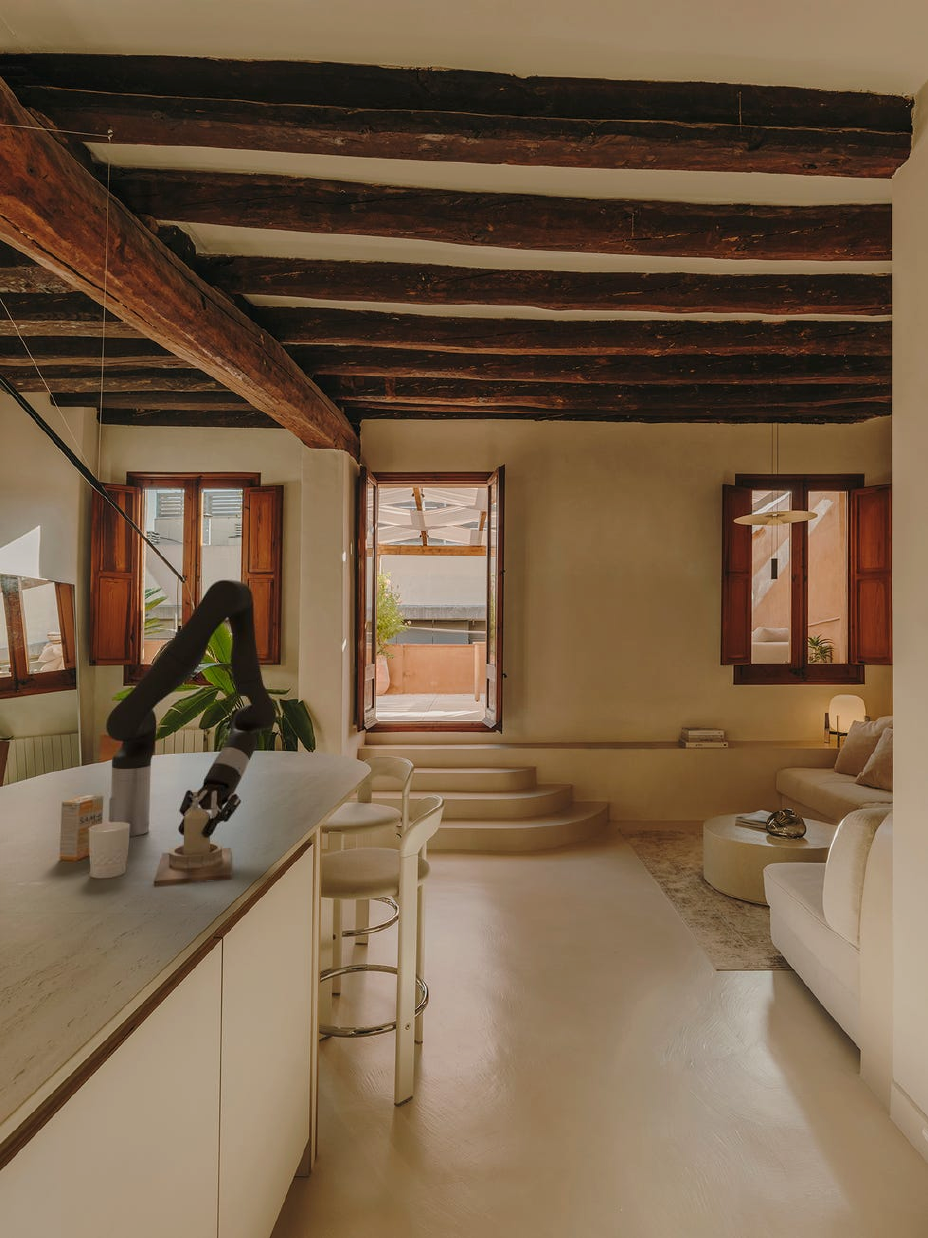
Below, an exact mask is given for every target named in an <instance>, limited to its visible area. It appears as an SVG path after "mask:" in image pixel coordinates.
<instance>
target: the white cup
mask: <svg viewBox="0 0 928 1238" xmlns="http://www.w3.org/2000/svg"><path fill="white" fill-rule="evenodd" d="M129 832H130V824H129V823H125V822H109V821H108V822H102V824H97V825H94V826H91V827H90V828H89V856H88V857H89V864H90V865H89V866H90V867H89V869H90V871H89V874H90V877H91V878H94V879H110V878H117V877H120V876H121V875H124V874H125V873H126V869H127V860H128V854H129V844H130V843H129V841H130V836H129Z"/></svg>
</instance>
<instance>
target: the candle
mask: <svg viewBox="0 0 928 1238" xmlns="http://www.w3.org/2000/svg"><path fill="white" fill-rule="evenodd" d="M183 818H184V835H183V844H184V855H200V854H205V853H210V842H211V836H210V837H209V838H205V837H204V836H203V834H202V831H203V829H204V827H205V825H206V824H207V822H208V820H209V818H211V814H210V812H209V811H208V810H203V809H202V808H200V807H199V808H196V809H194V810H193V811H190V812H189V813H188V814H186V815H185V817H183Z"/></svg>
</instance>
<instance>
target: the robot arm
mask: <svg viewBox="0 0 928 1238" xmlns="http://www.w3.org/2000/svg"><path fill="white" fill-rule="evenodd" d="M254 610H255V609H254V596H253V592H252V590H251V588H250V587H249V586H248V585H247V584H246V583H245V582H243V581H240V580H234V579H225V578H223V579H219V580H217V581H215V582H214V583H212V585H210V586H209V588H208V589H207V591H206V593H205V594H204V595H203V597H202V599H201V601H199V603H198V605H197V607H196V608H195V610H194V611H193V612H192V614H191V615H190V618H189V619H188V620H187V621H186V622H185V623H184V625H182V627H181V628H180V629H179V630H178V632H177V633H176V634H175V636H174V637H173V639H171V641H170V642H169V643H168V644H167V646H166V647H165V648H164V649H163V650H162V651H161V653H160V654H159V655H158V657H157V658H156V660H155V661H154V662H153V663H152V665H151V666H150V667H149V669H148V670H147V671H146V672H145V673H144V675H143V676H142V677H141V679H140V681H139V682H138V683H137V684H136V685H135V686H134V687H133V689H132V690H131V691H130V692H129V693H128V694H126V696H125V697H124V698H123V699H122V700H121V701H120V702H119V703H118V704H116V706H115V707H114V708H113V710H112V711H110V713H109V715H108V717H107V720H106V724H105V725H106V726H105V727H106V732H107V734H108V737H110V738H111V739H112V740H114V741H117V742H122V744H121V746H120V748H119V750H118V751H117V752H116V753H115V754H114V755H113V756H112V759H111V779H110V781H111V783H110V784H111V785H110V788H111V790H110V798H109V800H108V823H109V822H125V823H129V824H130V832H129V837H136V836H140V835H143V834H146V833H148V832H149V831H150V807H151V805H150V803H151V800H150V799H151V778H152V777H151V774H152V772H151V769H152V758H153V756H154V754H155V749H156V738H157V717H156V713H155V712H154V708H156V706H157V705H158V704H159V703H160V702H162V700H165V698H166V697H168V696H169V695H170V694H172V693H173V692H174V691H177V689H179V687H181V686H182V685H183V684H185V682H186V681H188V679H190V677H191V676H192V674H193V673H194V672H195V671H196V670H197V669H198V667H199V665H201V663H202V661H203V660H204V658H205V656H206V652H207V649H208V646H209V644H210V640H211V639H212V637H213V636H214V635H213V634H214V633H215V632H216V631H217V630H218V628H219V627H220V626H221V625H222V624H223V622H224V621H226V619H228V622H229V625H230V629H231V651H230V669H231V675H232V679H233V684H234V688H235V693H236V694H237V695H238V696H240V697H246V698H247V699H248V701H249V703H250V704H249V705H243V706H241V707H240V708H239V709H238V710H237V711H236V713H235V714H234V716H233V720H232V724H231V725H230V726H231V727H230V731H229V736H228V738H227V740H226V742H225V744H224V745H223V747H222V749H221V750H220V752H219V753H218V754H217V756H216V758H215V760H214V761H213V763H212V764H211V767H210V769H209V770H208V772H207V773H206V776H205V778H204V780H203V785H202V787H200V789H198V790H197V791H192V790H191V789H188V790H187V791H186V792H185V794H184V797H183V800H182V802H181V804H180V807H179V810H178V811H179V813H180V815H182V816H183V818H182V819H181V822H180V824H179V825H178V828H177V829H178V832H179V834H180V835H181V836H184V817H185V815H186V814H188V813H189V812H190V811H193V810H194V809H196V808H202V809H203V810H206V811H211V814H210V815H211V817H210V818H209V820H208V822H207V824H206V825H205V827H204V829H203V831H202V834H203V836H204V837H205V838H209V837H210V838H211V836H212V835H213V834H214V831H215V829H216V828H217V826H218V824H220V823H221V822H223V823H226V822H229V820H230V818H231V817H232V815H233V814H234V812H235V811H236V810H237V809H238V807H239V805H240V804H241V803H242V800H241V799H240V797H239V796H238V794H236V793H235V791H236V789H237V788H238V786H239V784H240V781H241V779H242V778H243V775H244V774H245V772H246V770H247V767H248V764H249V761H250V760H251V759H252V756H253V754H254V752H255V750H256V747H257V742H258V741H257V739H256V737H255V736H254V735H253V734H254V733H255V732H262V731H266V730H269V729H271V728H273V726H274V725H275V723H276V720H277V709H276V706H275V704H274V702H273V700H272V698H271V696H270V694H269V692H268V690H267V689H266V686H265V684H264V680H263V674H262V670H261V665H260V660H259V654H258V649H257V643H256V642H257V641H256V640H257V639H256V632H255V619H254V618H255V614H254V612H255V611H254ZM199 806H200V807H199Z"/></svg>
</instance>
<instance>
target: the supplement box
mask: <svg viewBox="0 0 928 1238" xmlns="http://www.w3.org/2000/svg"><path fill="white" fill-rule="evenodd" d="M60 812H61V813H60V816H61V817H60V839H59V840H60V841H59V859H60V860H64V861H75V862H76V861H78V860H81V859H83V858H86V857H90V855H89V828H90V827H91V826H94V825H97V824H102V823H103V818H104V817H103V815H104V814H103V813H104V796H103V795H94V794H92V795H88V794H87V795H84V796H81V797H76V798H73V799H69V800H63V801H61V811H60Z"/></svg>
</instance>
